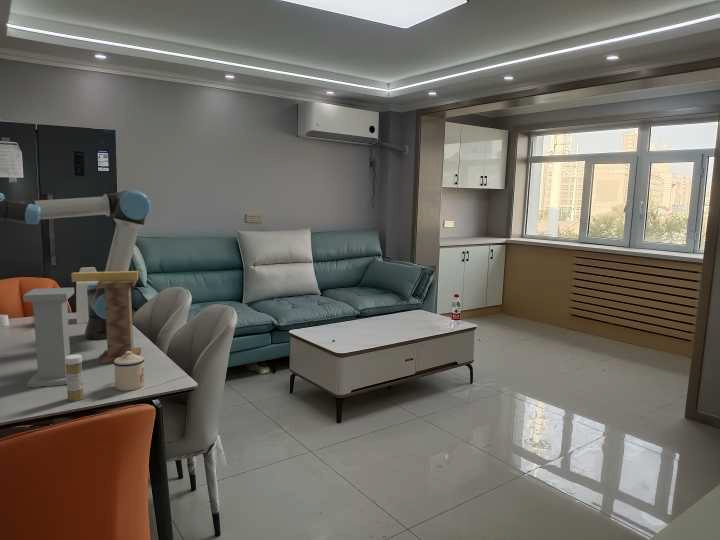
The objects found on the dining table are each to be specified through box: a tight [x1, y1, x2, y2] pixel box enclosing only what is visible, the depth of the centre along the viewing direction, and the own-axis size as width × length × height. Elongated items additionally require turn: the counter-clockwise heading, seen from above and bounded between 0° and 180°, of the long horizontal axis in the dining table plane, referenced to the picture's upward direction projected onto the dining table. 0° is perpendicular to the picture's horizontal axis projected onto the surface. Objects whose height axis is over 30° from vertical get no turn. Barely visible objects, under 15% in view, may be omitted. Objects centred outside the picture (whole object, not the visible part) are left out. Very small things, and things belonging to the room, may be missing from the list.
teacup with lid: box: [113, 351, 145, 392], centre depth 171 cm, size 12×9×12 cm
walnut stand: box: [97, 280, 142, 365], centre depth 197 cm, size 13×13×30 cm
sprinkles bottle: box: [65, 354, 85, 402], centre depth 158 cm, size 5×5×13 cm
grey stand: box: [22, 287, 75, 388], centre depth 173 cm, size 13×13×30 cm
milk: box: [75, 266, 99, 324], centre depth 255 cm, size 12×12×26 cm
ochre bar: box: [70, 270, 139, 283], centre depth 194 cm, size 22×3×3 cm, turn 108°
